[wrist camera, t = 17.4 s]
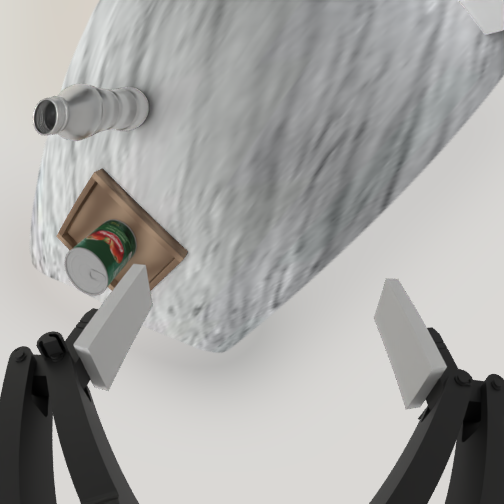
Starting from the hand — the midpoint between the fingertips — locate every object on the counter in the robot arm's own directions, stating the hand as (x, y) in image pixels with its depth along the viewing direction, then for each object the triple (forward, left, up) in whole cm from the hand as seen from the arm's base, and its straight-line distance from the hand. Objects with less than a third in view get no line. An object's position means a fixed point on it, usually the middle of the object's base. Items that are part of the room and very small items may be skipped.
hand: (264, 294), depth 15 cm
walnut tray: (-10, -26, -29) cm, 40 cm away
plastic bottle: (-22, -7, -29) cm, 37 cm away
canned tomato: (-10, -26, -28) cm, 40 cm away
